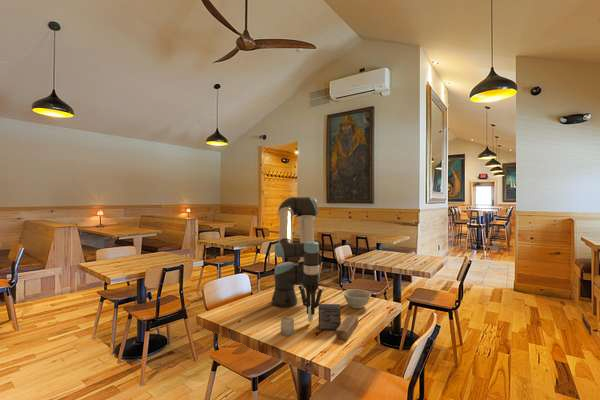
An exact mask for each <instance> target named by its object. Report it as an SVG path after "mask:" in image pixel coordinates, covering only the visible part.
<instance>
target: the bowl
mask: <svg viewBox="0 0 600 400" xmlns="http://www.w3.org/2000/svg"><path fill="white" fill-rule="evenodd" d="M342 294H343V296H344V299H345V301H346V302H347V304H348V305H350V307H352V308H354V309H362V308H364V306H365V305H367V304H368V303H369V301H370V298H371V296H372V293H371V292H370V291H367V290H364V289H359V288H357V289H356V288H353V289H352V288H351V289H350V288H349V289H346V290H344V291H343V292H342Z"/></svg>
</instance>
